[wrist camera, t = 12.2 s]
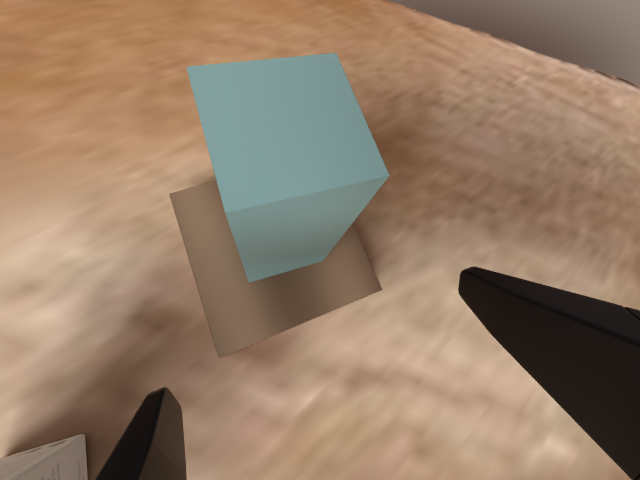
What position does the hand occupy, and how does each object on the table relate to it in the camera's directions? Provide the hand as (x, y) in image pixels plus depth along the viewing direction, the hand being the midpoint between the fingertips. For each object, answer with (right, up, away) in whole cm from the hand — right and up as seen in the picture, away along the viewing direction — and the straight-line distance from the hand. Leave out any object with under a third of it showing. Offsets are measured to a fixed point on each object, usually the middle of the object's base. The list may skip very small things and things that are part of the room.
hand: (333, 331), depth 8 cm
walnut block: (-3, +2, +12) cm, 13 cm away
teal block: (-3, +3, +9) cm, 10 cm away
